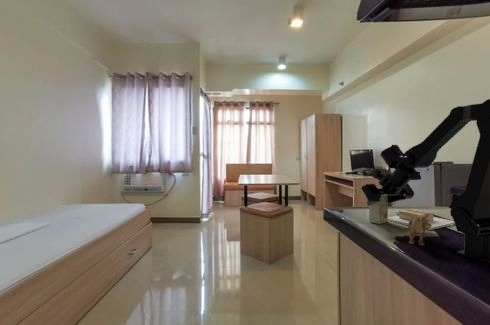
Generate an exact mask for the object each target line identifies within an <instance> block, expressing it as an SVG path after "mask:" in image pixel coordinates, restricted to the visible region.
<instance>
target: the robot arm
mask: <svg viewBox="0 0 490 325" xmlns="http://www.w3.org/2000/svg"><path fill="white" fill-rule="evenodd" d="M472 121H473V122H474V121H475V122H476V123H475V124H476V127H477V130H478V132H479V138H478V141H477V146H476V150H475V153H474V157H473V160H472V164H471V168H470V171H469V175H468V176H467V177H468V178H467V182H466V185H465V188H464V190H463V191H461V193H453V194H452V197H451V203H450V205H449V206H448V209H450V211H449V213H450V216H451V217H452V219H453V220H452V221H454V223H455V229H456V231H457V232H460V233H462V234H464V235H463V236H464V237H463V238H464V239H463V250H458V251H457V254H458V255H461V256H464V257H468V258H470V259H474V260H478V261H481V262H483V263H490V98H488V99H486V100H485V101H483V102H482V103H481V102H480V103H474V104H468V105H464V106H462V105H458V106H456V107H453V108H452V109H451V110H450V112H449V114H448V115H447V116H446V117H445V118H444V119H443V120H442V121H441V122H440V123H439V124H438V125H437V126H436V127H435V128H434V130H432V132H430V134H428V135H427V137H426V138H424V139H423V141H421V142H419V143H417V144H415V145H413V146H412V147H410V148H408V149H407V150H406V151H404V152H403V151H402V150H401V148H400V146H399V145H398V144H391V145H390V147H387V148H385V149H384V150H382V151H381V152H380V157H381V158H382V160H383V161H384V162H385V164H386V165H387V167H388V168H389V169H394V170H393V171H392V172H391V171H389V169H386V168H373V170H371V173H370V176H371V177H372V178H374V179H377V180H378V185H379V186H381V187H380V188H378V187H377V185H376V184H375V183H364V184H363V185H362V186H361V190H362V193H363V194H364V195H365V197H366V199H367V201H366V205H367V206H368V207H369V206H370V205H372V204H374V203H376V202H379V201H380V200H379V199H380V198H381V195H388V205H389V204H392V203H396V202H401V201H403V200H408V199H409V200H410V199H411V200H412V198H413V197H414V196H415V191H414V190H413V189H412V187H411V186H410V184H409V182H410V181H421V180H422V176H421V172H420V171H417V169H424V168H426V169H427V168H428V167H430V166H431V165H432V164H433V162H434V161H435V160H436V159H437V154H438V152H439V151H440V150H441V149H442V148H443V147H444V146H446V144H447V143H448V142H449V141H450V140H452V139H453V138H454V137H455V136H456V135H457V134H458V133H459V132H460V131H461V130H462V129H463V128H465V127H466V125H467V124H469V123H470V122H472Z"/></svg>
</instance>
